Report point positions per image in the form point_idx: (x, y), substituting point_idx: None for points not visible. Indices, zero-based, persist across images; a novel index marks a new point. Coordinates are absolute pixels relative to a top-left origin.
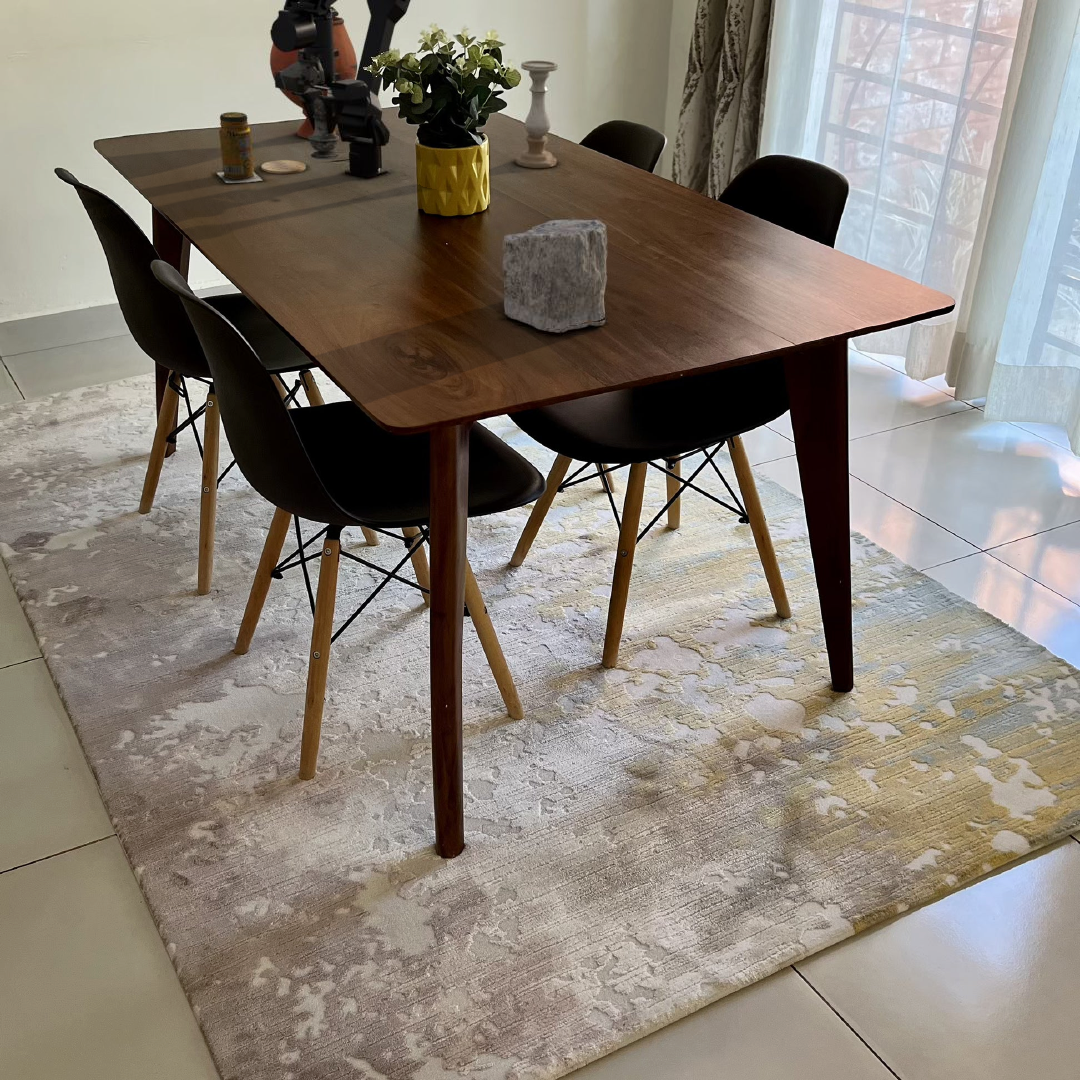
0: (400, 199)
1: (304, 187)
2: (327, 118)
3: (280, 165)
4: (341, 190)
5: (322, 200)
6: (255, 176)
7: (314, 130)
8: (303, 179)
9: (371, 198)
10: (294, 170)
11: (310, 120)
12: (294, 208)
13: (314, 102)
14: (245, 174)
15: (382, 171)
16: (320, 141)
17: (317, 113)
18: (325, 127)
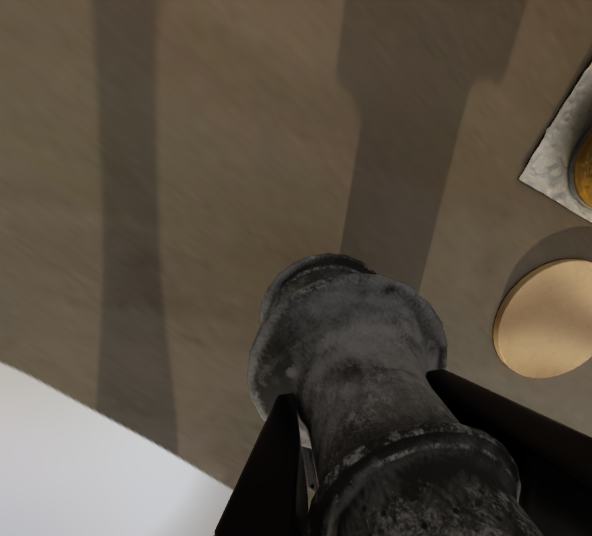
0: (60, 362)
1: (369, 232)
2: (270, 502)
3: (567, 318)
4: (262, 295)
5: (207, 170)
6: (565, 195)
7: (433, 371)
8: (433, 288)
9: (125, 306)
10: (503, 314)
11: (510, 407)
12: (185, 6)
13: None
14: (589, 148)
15: (308, 474)
16: (291, 296)
17: (441, 505)
18: (318, 414)
